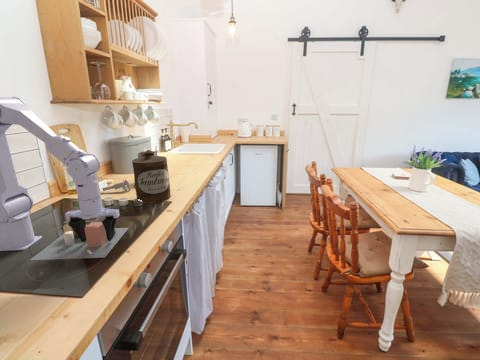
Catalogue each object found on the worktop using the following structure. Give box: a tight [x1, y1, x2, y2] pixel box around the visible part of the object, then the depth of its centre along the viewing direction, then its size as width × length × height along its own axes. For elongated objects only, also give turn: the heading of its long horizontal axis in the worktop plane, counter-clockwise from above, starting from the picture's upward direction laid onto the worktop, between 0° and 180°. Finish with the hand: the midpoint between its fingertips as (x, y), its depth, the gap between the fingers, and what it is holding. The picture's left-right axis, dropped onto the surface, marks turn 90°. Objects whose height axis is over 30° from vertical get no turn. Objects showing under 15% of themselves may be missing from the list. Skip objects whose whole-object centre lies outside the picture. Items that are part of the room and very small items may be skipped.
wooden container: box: [131, 149, 171, 204], centre depth 118 cm, size 15×15×22 cm
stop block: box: [84, 221, 107, 247], centre depth 79 cm, size 4×4×6 cm
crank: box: [62, 224, 116, 239], centre depth 83 cm, size 15×4×4 cm, turn 92°
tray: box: [62, 217, 106, 226], centre depth 96 cm, size 11×11×2 cm
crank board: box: [30, 227, 129, 261], centre depth 80 cm, size 20×18×5 cm
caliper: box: [101, 178, 131, 192], centre depth 129 cm, size 20×1×6 cm, turn 103°
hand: (97, 239), depth 79 cm, fingers open, 7 cm apart
